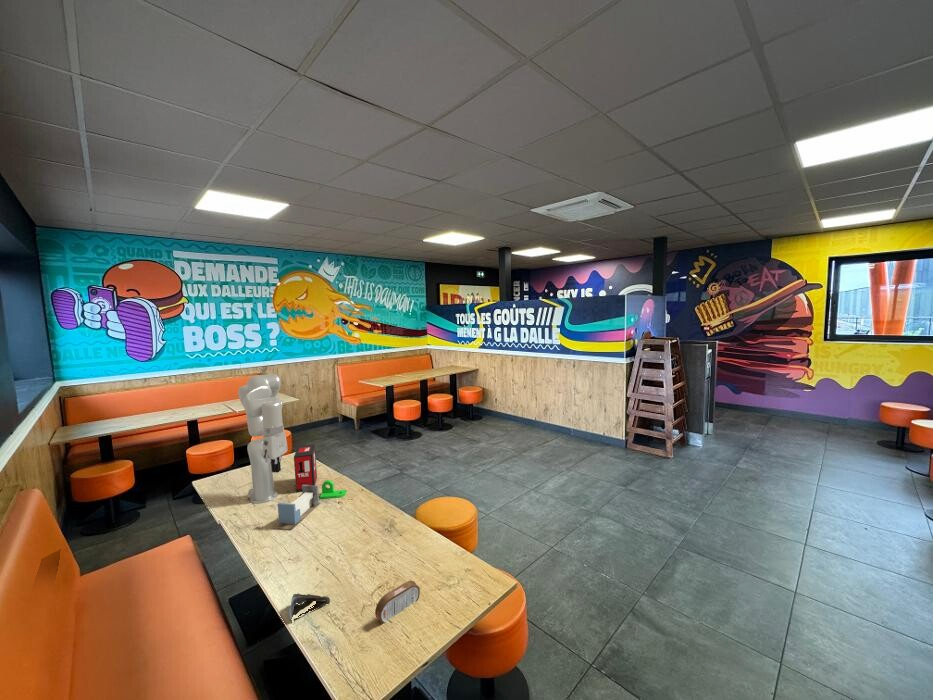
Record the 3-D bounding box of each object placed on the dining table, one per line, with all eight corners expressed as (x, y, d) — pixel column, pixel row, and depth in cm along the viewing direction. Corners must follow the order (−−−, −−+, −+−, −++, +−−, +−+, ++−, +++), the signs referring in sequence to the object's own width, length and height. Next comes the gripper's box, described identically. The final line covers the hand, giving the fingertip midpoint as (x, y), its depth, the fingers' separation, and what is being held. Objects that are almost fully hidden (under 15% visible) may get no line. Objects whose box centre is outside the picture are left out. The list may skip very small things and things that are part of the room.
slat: (285, 521, 168) (284, 508, 167) (306, 503, 184) (305, 491, 183) (293, 522, 167) (292, 509, 167) (313, 504, 183) (313, 492, 182)
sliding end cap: (278, 523, 167) (277, 503, 166) (284, 518, 171) (283, 499, 170) (295, 524, 165) (293, 505, 164) (300, 519, 169) (299, 500, 168)
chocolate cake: (326, 591, 125) (295, 577, 121) (332, 598, 120) (300, 584, 116) (309, 623, 121) (276, 610, 117) (314, 632, 115) (280, 618, 111)
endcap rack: (272, 529, 163) (271, 508, 162) (304, 503, 186) (302, 484, 185) (291, 531, 162) (289, 509, 161) (320, 504, 184) (319, 485, 183)
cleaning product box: (314, 490, 199) (312, 454, 197) (296, 493, 197) (293, 456, 195) (317, 477, 215) (314, 444, 213) (300, 480, 212) (297, 446, 210)
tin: (416, 598, 122) (415, 574, 122) (421, 603, 120) (421, 579, 119) (375, 624, 112) (373, 599, 111) (380, 631, 110) (379, 605, 109)
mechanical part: (319, 500, 189) (318, 485, 188) (323, 494, 195) (322, 480, 194) (344, 499, 190) (343, 484, 189) (346, 493, 196) (346, 478, 195)
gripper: (268, 436, 150) (272, 480, 152) (292, 425, 165) (295, 464, 167) (252, 435, 151) (255, 478, 153) (277, 424, 166) (280, 463, 168)
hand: (276, 471), depth 160 cm, fingers closed
